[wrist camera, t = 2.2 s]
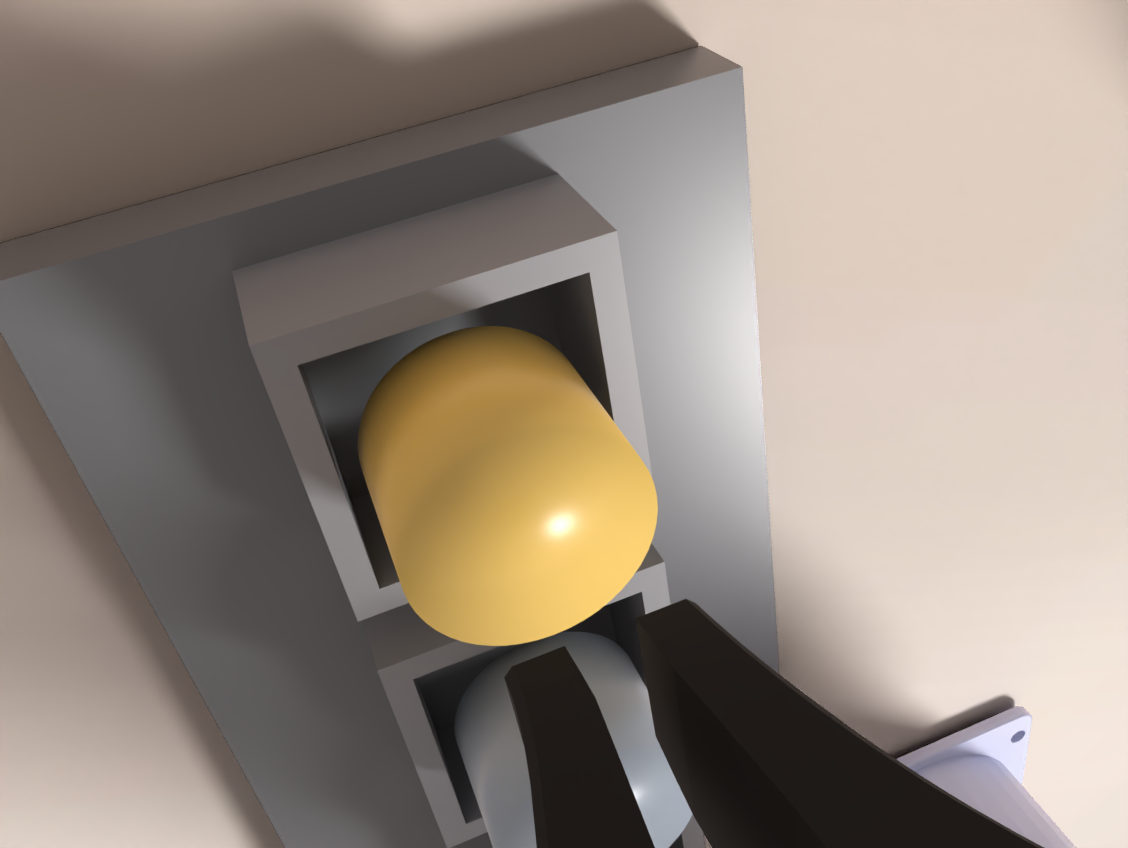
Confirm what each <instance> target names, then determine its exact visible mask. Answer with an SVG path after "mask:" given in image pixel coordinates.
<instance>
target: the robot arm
mask: <svg viewBox="0 0 1128 848" xmlns="http://www.w3.org/2000/svg"><path fill="white" fill-rule="evenodd" d="M635 620H636V626H637V631H638V637H639V643H640V649H641V655H642V660H643V666H644V672H645V678H646V684H647V689H648V695H649V701H650V707H651V712H652V718H653V724H654V730H655V736H656V738H657V740H658V742H659V744H660V747H661V749H662V751H663V753H664V755H665V757H666V759H667V762H668V764H669V766H670V768H671V770H672V772H673V774H674V776H675V779H676V781H677V783H678V785H679V787H680V789H681V791H682V793H683V795H684V797H685V799H686V801H687V803H688V805H689V808H690V810H691V812H692V814H693V816H694V818H695V820H696V821H697V823H698V825H699V826H700V828H701V830H702V831H703V833H704V834H705V836H706V838H707V839H708V841H709V843H710V844H711V846H712V848H1076V847H1075V846H1074V844H1073V843H1072V842H1071V841H1070V840H1069V839H1068V837H1067V836H1066V835H1065V834H1064V833H1063V832H1062V831H1061V829H1060V828H1059V827H1058V826H1057V825H1056V824H1055V823H1054V821H1053V820H1052V819H1051V818H1050V817H1049V816H1048V815H1047V813H1046V812H1045V811H1044V810H1043V809H1042V808H1041V806H1040V805H1039V804H1038V803H1037V802H1036V801H1035V800H1034V798H1033V797H1032V796H1031V795H1030V794H1029V793H1028V792H1027V790H1026V789H1025V788H1024V787H1023V786H1022V781H1023V774H1024V768H1025V761H1026V755H1027V749H1028V742H1029V736H1030V729H1031V723H1032V716H1031V715H1030V714H1029V713H1028V712H1027V710H1026V709H1025V708H1023V707H1014V708H1011V709H1009V710H1006V711H1004V712H1002V713H999V714H997V715H995V716H993V717H990V718H988V719H986V720H983V721H981V722H979V723H977V724H974V725H972V726H970V727H967V728H965V729H963V730H961V731H958V732H956V733H954V734H951V735H949V736H947V737H945V738H942V739H940V740H938V741H936V742H933V743H931V744H929V745H926V746H924V747H922V748H920V749H917V750H915V751H913V752H910V753H908V754H906V755H904V756H901V757H899V758H897V759H895V758H893V757H892V756H890V755H889V754H887V753H886V752H884V751H883V750H881V749H880V748H878V747H877V746H876V745H874V744H873V743H871V742H870V741H868V740H867V739H866V738H864V737H863V736H861V735H860V734H858V733H857V732H855V731H854V730H853V729H851V728H850V727H849V726H847V725H846V724H844V723H843V722H842V721H840V720H839V719H838V718H836V717H835V716H834V715H832V714H831V713H830V712H828V711H827V710H825V709H824V708H823V707H821V706H820V705H819V704H817V703H816V702H815V701H813V700H812V699H810V698H809V697H808V696H806V695H805V694H804V693H802V692H801V691H800V690H799V689H797V688H796V687H795V686H793V685H792V684H791V683H790V682H788V681H787V680H786V679H784V678H783V677H782V676H781V675H779V674H778V673H777V672H776V671H774V670H773V669H772V668H771V667H769V666H768V665H767V664H766V663H764V662H763V661H762V660H761V659H760V658H758V657H757V656H756V655H755V654H753V653H752V652H751V651H750V650H749V649H747V648H746V647H745V646H744V645H743V644H741V643H740V642H739V641H738V640H737V639H736V638H734V637H733V636H732V635H731V634H730V633H729V632H727V631H726V630H725V629H724V628H723V627H722V626H721V625H720V624H718V623H717V622H716V621H715V620H714V619H713V618H712V617H710V616H709V615H708V614H707V613H706V612H705V611H704V610H703V609H702V608H701V607H700V606H699V605H697V604H696V603H695V602H692V601H690V600H688V599H684V600H681V601H679V602H676V603H674V604H671V605H668V606H666V607H663V608H661V609H658V610H656V611H653V612H650V613H648V614H645V615H643V616H640V617H638V618H635ZM504 679H505V682H506V686H507V689H508V693H509V696H510V700H511V703H512V706H513V710H514V713H515V717H516V720H517V724H518V727H519V731H520V734H521V737H522V741H523V744H524V748H525V754H526V760H527V766H528V772H529V778H530V786H531V796H532V806H533V816H534V825H535V835H536V845H537V848H655V846H654V844H653V841H652V839H651V836H650V834H649V831H648V829H647V826H646V824H645V821H644V819H643V816H642V813H641V811H640V808H639V806H638V803H637V801H636V798H635V796H634V793H633V791H632V788H631V786H630V783H629V781H628V778H627V775H626V773H625V770H624V768H623V765H622V763H621V760H620V758H619V755H618V753H617V750H616V748H615V745H614V743H613V740H612V738H611V735H610V733H609V730H608V728H607V725H606V723H605V720H604V717H603V715H602V712H601V710H600V708H599V705H598V703H597V700H596V698H595V696H594V694H593V692H592V691H591V689H590V687H589V685H588V684H587V682H586V680H585V679H584V677H583V675H582V673H581V672H580V670H579V668H578V667H577V665H576V664H575V662H574V660H573V659H572V657H571V655H570V654H569V652H568V651H567V649H566V647H565V646H563V647H560V648H558V649H555V650H553V651H550V652H548V653H545V654H542V655H540V656H537V657H535V658H532V659H530V660H527V661H524V662H522V663H519V664H517V665H514V666H512V667H511V668H510V670H509V671H508V673H507V674H506V675H505V677H504Z"/></svg>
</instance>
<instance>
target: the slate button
mask: <svg viewBox="0 0 1128 848" xmlns="http://www.w3.org/2000/svg"><path fill="white" fill-rule="evenodd" d="M563 646H565V647H566V649H567V651H568V652H569V654H570V655H571V657H572V659H573V660H574V662H575V664H576V665H577V667H578V668H579V670H580V672H581V673H582V675H583V677H584V679H585V680H586V682H587V684H588V685H589V687H590V689H591V691H592V692H593V694H594V696H595V698H596V700H597V703H598V705H599V708H600V710H601V712H602V715H603V717H604V720H605V723H606V725H607V728H608V730H609V733H610V735H611V738H612V740H613V743H614V745H615V748H616V750H617V753H618V755H619V758H620V760H621V763H622V765H623V768H624V770H625V773H626V775H627V778H628V781H629V783H630V786H631V788H632V791H633V793H634V796H635V798H636V801H637V803H638V806H639V808H640V811H641V813H642V816H643V819H644V821H645V824H646V826H647V829H648V831H649V834H650V836H651V839H652V841H653V844H654V846H655V848H669V847H670V846H671V845H672V843H673V842H674V841H675V840H676V839H677V838H678V837H679V835H680V834H681V833H682V831H683V830H684V829H685V827H686V825H687V824H688V822H689V820H690V818H691V816H692V812H691V810H690V808H689V805H688V803H687V801H686V799H685V797H684V795H683V793H682V791H681V789H680V787H679V785H678V783H677V781H676V779H675V776H674V774H673V772H672V770H671V768H670V766H669V764H668V762H667V759H666V757H665V755H664V753H663V751H662V749H661V747H660V744H659V742H658V740H657V738H656V736H655V730H654V724H653V718H652V712H651V707H650V701H649V695H648V690H647V688H646V686H645V684H644V682H643V681H642V679H641V677H640V675H639V674H638V672H637V670H636V668H635V667H634V665H633V663H632V661H631V659H630V658H629V656H628V654H627V653H626V652H625V651H624V649H623V648H622V647H620V646H619V645H618V644H617V643H615V642H614V641H612V640H610V639H609V638H606V637H603V636H601V635H597V634H593V633H587V632H562V633H557V634H555V635H552V636H549V637H546V638H543V639H540V640H536V641H532V642H528V643H523V644H521V645H518V646H516V647H515V648H513V649H511V650H509V651H507V652H506V653H504V654H503V655H501V656H500V657H498V658H497V659H495V660H494V661H493V662H492V663H490V664H489V665H488V666H487V667H486V668H484V669H483V670H482V671H481V672H480V673H479V674H478V675H477V676H476V678H475V679H474V680H473V681H472V683H471V684H470V685H469V686H468V688H467V690H466V691H465V693H464V694H463V696H462V698H461V700H460V702H459V705H458V708H457V711H456V714H455V721H454V733H455V737H456V741H457V744H458V747H459V750H460V753H461V756H462V759H463V762H464V765H465V768H466V771H467V773H468V776H469V779H470V782H471V785H472V788H473V791H474V794H475V797H476V800H477V803H478V805H479V808H480V811H481V814H482V817H483V820H484V823H485V826H486V829H487V832H488V835H489V837H490V840H491V843H492V846H493V848H537V845H536V835H535V825H534V816H533V806H532V796H531V786H530V778H529V772H528V766H527V760H526V754H525V748H524V744H523V741H522V737H521V734H520V731H519V727H518V724H517V720H516V717H515V713H514V710H513V706H512V703H511V700H510V696H509V693H508V689H507V686H506V682H505V679H504V677H505V675H506V674H507V673H508V671H509V670H510V668H511V667H512V666H514V665H517V664H519V663H522V662H524V661H527V660H530V659H532V658H535V657H537V656H540V655H542V654H545V653H548V652H550V651H553V650H555V649H558V648H560V647H563Z"/></svg>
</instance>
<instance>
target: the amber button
mask: <svg viewBox="0 0 1128 848" xmlns="http://www.w3.org/2000/svg"><path fill="white" fill-rule="evenodd" d="M358 455H359V461H360V465H361V469H362V472H363V475H364V478H365V481H366V484H367V487H368V490H369V493H370V496H371V499H372V502H373V504H374V507H375V510H376V513H377V516H378V519H379V522H380V525H381V528H382V531H383V534H384V537H385V540H386V543H387V545H388V548H389V551H390V554H391V557H392V560H393V563H394V566H395V569H396V572H397V575H398V578H399V581H400V584H401V586H402V589H403V592H404V594H405V596H406V598H407V600H408V602H409V604H410V605H411V607H412V608H413V610H414V611H415V613H416V614H417V615H418V616H419V617H420V618H421V619H422V620H423V621H424V622H425V623H427V624H428V625H429V626H431V627H432V628H434V629H435V630H436V631H438V632H440V633H442V634H444V635H446V636H448V637H450V638H453V639H456V640H459V641H462V642H467V643H471V644H476V645H487V646H508V645H515V644H523V643H528V642H532V641H536V640H540V639H543V638H546V637H549V636H552V635H555V634H557V633H560V632H562V631H564V630H567V629H569V628H571V627H573V626H575V625H576V624H578V623H580V622H582V621H584V620H585V619H587V618H588V617H590V616H591V615H593V614H594V613H596V612H597V611H599V610H600V609H601V608H602V607H603V606H605V605H606V604H607V603H608V602H610V601H611V600H612V599H613V598H614V597H615V596H616V595H617V594H618V593H619V592H620V591H621V590H622V589H623V588H624V587H625V585H626V584H627V583H628V582H629V581H630V579H631V578H632V577H633V576H634V574H635V573H636V571H637V570H638V568H639V567H640V565H641V564H642V562H643V560H644V558H645V556H646V554H647V552H648V550H649V547H650V545H651V542H652V539H653V536H654V532H655V528H656V524H657V513H658V504H657V494H656V489H655V485H654V482H653V479H652V477H651V475H650V472H649V470H648V469H647V467H646V466H645V464H644V462H643V461H642V459H641V458H640V457H639V455H638V454H637V453H636V451H635V450H634V448H633V447H632V446H631V444H630V443H629V442H628V440H627V439H626V438H625V436H624V435H623V434H622V432H621V431H620V429H619V428H618V427H617V425H616V424H615V423H614V421H613V420H612V419H611V417H610V416H609V414H608V413H607V412H606V410H605V409H604V408H603V406H602V405H601V404H600V402H599V401H598V400H597V398H596V397H595V395H594V394H593V393H592V391H591V390H590V389H589V387H588V386H587V385H586V383H585V382H584V380H583V379H582V378H581V376H580V375H579V374H578V372H577V371H576V370H575V368H574V367H573V366H572V364H571V363H570V361H569V360H568V359H567V358H566V357H565V356H564V355H563V354H562V352H561V351H559V350H558V349H557V348H556V347H554V346H553V345H552V344H551V343H549V342H547V341H546V340H544V339H542V338H541V337H539V336H536V335H534V334H531V333H529V332H526V331H523V330H519V329H515V328H510V327H501V326H479V327H471V328H465V329H461V330H457V331H453V332H449V333H447V334H444V335H442V336H439V337H436V338H434V339H432V340H430V341H428V342H426V343H424V344H422V345H420V346H419V347H417V348H416V349H414V350H413V351H411V352H410V353H408V354H407V355H406V356H404V357H403V358H402V359H401V360H400V361H399V362H397V363H396V364H395V365H394V366H393V367H392V368H391V369H390V370H389V371H388V372H387V374H386V375H385V376H384V377H383V378H382V379H381V381H380V382H379V384H378V385H377V386H376V388H375V389H374V391H373V393H372V394H371V396H370V398H369V400H368V402H367V404H366V406H365V409H364V412H363V415H362V417H361V422H360V426H359V431H358Z"/></svg>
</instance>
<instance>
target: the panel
mask: <svg viewBox="0 0 1128 848" xmlns="http://www.w3.org/2000/svg"><path fill="white" fill-rule="evenodd" d="M479 326H501V327H510V328H515V329H519V330H523V331H526V332H529V333H531V334H534V335H536V336H539V337H541V338H542V339H544V340H546V341H547V342H549V343H551V344H552V345H553V346H554V347H556V348H557V349H558V350H559V351H561V352H562V354H563V355H564V356H565V357H566V358H567V359H568V360H569V361H570V363H571V364H572V366H573V367H574V368H575V370H576V371H577V372H578V374H579V375H580V376H581V378H582V379H583V380H584V382H585V383H586V385H587V386H588V387H589V389H590V390H591V391H592V393H593V394H594V395H595V397H596V398H597V400H598V401H599V402H600V404H601V405H602V406H603V408H604V409H605V410H606V412H607V413H608V414H609V416H610V417H611V419H612V420H613V421H614V423H615V424H616V425H617V427H618V428H619V429H620V431H621V432H622V434H623V435H624V436H625V438H626V439H627V440H628V442H629V443H630V444H631V446H632V447H633V448H634V450H635V451H636V453H637V454H638V455H639V457H640V458H641V459H642V461H643V462H644V464H645V466H646V467H647V469H648V470H649V472H650V475H651V477H652V479H653V482H654V485H655V489H656V494H657V504H658V513H657V524H656V528H655V532H654V536H653V539H652V542H651V545H650V547H649V550H648V552H647V554H646V556H645V558H644V560H643V562H642V564H641V565H640V567H639V568H638V570H637V571H636V573H635V574H634V576H633V577H632V578H631V579H630V581H629V582H628V583H627V584H626V585H625V587H624V588H623V589H622V590H621V591H620V592H619V593H618V594H617V595H616V596H615V597H614V598H613V599H612V600H611V601H610V602H608V603H607V604H606V605H605V606H603V607H602V608H601V609H600V610H599V611H597V612H596V613H594V614H593V615H591V616H590V617H588V618H587V619H585V620H584V621H582V622H580V623H578V624H576V625H575V626H573V627H571V628H569V629H567V630H564V631H562V632H587V633H593V634H597V635H601V636H603V637H606V638H609V639H610V640H612V641H614V642H615V643H617V644H618V645H619V646H620V647H622V648H623V649H624V651H625V652H626V653H627V654H628V656H629V658H630V659H631V661H632V663H633V665H634V667H635V668H636V670H637V672H638V674H639V675H640V677H641V679H642V681H643V682H644V684H645V686H646V688H647V684H646V678H645V672H644V666H643V660H642V655H641V649H640V643H639V637H638V631H637V626H636V620H635V618H638V617H640V616H643V615H645V614H648V613H650V612H653V611H656V610H658V609H661V608H663V607H666V606H668V605H671V604H674V603H676V602H679V601H681V600H684V599H688V600H690V601H692V602H695V603H696V604H697V605H699V606H700V607H701V608H702V609H703V610H704V611H705V612H706V613H707V614H708V615H709V616H710V617H712V618H713V619H714V620H715V621H716V622H717V623H718V624H720V625H721V626H722V627H723V628H724V629H725V630H726V631H727V632H729V633H730V634H731V635H732V636H733V637H734V638H736V639H737V640H738V641H739V642H740V643H741V644H743V645H744V646H745V647H746V648H747V649H749V650H750V651H751V652H752V653H753V654H755V655H756V656H757V657H758V658H760V659H761V660H762V661H763V662H764V663H766V664H767V665H768V666H769V667H771V668H772V669H773V670H774V671H776V672H777V673H778V674H779V661H778V645H777V628H776V612H775V595H774V579H773V563H772V546H771V530H770V513H769V497H768V480H767V464H766V447H765V431H764V414H763V398H762V382H761V365H760V349H759V332H758V316H757V299H756V283H755V266H754V250H753V234H752V217H751V201H750V184H749V168H748V151H747V135H746V118H745V102H744V86H743V69H742V66H740V65H738V64H736V63H734V62H732V61H730V60H728V59H726V58H724V57H722V56H720V55H718V54H716V53H715V52H713V51H711V50H709V49H707V48H705V47H703V46H699V47H695V48H692V49H688V50H685V51H681V52H678V53H674V54H670V55H667V56H663V57H660V58H656V59H653V60H649V61H646V62H642V63H639V64H635V65H631V66H628V67H624V68H621V69H617V70H614V71H610V72H607V73H603V74H599V75H596V76H592V77H589V78H585V79H582V80H578V81H575V82H571V83H568V84H564V85H560V86H557V87H553V88H550V89H546V90H543V91H539V92H536V93H532V94H528V95H525V96H521V97H518V98H514V99H511V100H507V101H504V102H500V103H497V104H493V105H489V106H486V107H482V108H479V109H475V110H472V111H468V112H465V113H461V114H457V115H454V116H450V117H447V118H443V119H440V120H436V121H433V122H429V123H426V124H422V125H418V126H415V127H411V128H408V129H404V130H401V131H397V132H394V133H390V134H387V135H383V136H379V137H376V138H372V139H369V140H365V141H362V142H358V143H355V144H351V145H347V146H344V147H340V148H337V149H333V150H330V151H326V152H323V153H319V154H316V155H312V156H308V157H305V158H301V159H298V160H294V161H291V162H287V163H284V164H280V165H276V166H273V167H269V168H266V169H262V170H259V171H255V172H252V173H248V174H245V175H241V176H237V177H234V178H230V179H227V180H223V181H220V182H216V183H213V184H209V185H205V186H202V187H198V188H195V189H191V190H188V191H184V192H181V193H177V194H174V195H170V196H166V197H163V198H159V199H156V200H152V201H149V202H145V203H142V204H138V205H135V206H131V207H127V208H124V209H120V210H117V211H113V212H110V213H106V214H103V215H99V216H95V217H92V218H88V219H85V220H81V221H78V222H74V223H71V224H67V225H64V226H60V227H56V228H53V229H49V230H46V231H42V232H39V233H35V234H32V235H28V236H24V237H21V238H17V239H14V240H10V241H7V242H3V243H0V333H1V334H2V336H3V338H4V340H5V342H6V343H7V345H8V347H9V349H10V351H11V352H12V354H13V356H14V358H15V360H16V361H17V363H18V365H19V367H20V369H21V371H22V372H23V374H24V376H25V378H26V380H27V381H28V383H29V385H30V387H31V389H32V390H33V392H34V394H35V396H36V398H37V400H38V401H39V403H40V405H41V407H42V409H43V410H44V412H45V414H46V416H47V418H48V419H49V421H50V423H51V425H52V427H53V428H54V430H55V432H56V434H57V436H58V438H59V439H60V441H61V443H62V445H63V447H64V448H65V450H66V452H67V454H68V456H69V457H70V459H71V461H72V463H73V465H74V466H75V468H76V470H77V472H78V474H79V476H80V477H81V479H82V481H83V483H84V485H85V486H86V488H87V490H88V492H89V494H90V495H91V497H92V499H93V501H94V503H95V505H96V506H97V508H98V510H99V512H100V514H101V515H102V517H103V519H104V521H105V523H106V524H107V526H108V528H109V530H110V532H111V533H112V535H113V537H114V539H115V541H116V543H117V544H118V546H119V548H120V550H121V552H122V553H123V555H124V557H125V559H126V561H127V562H128V564H129V566H130V568H131V570H132V572H133V573H134V575H135V577H136V579H137V581H138V582H139V584H140V586H141V588H142V590H143V591H144V593H145V595H146V597H147V599H148V600H149V602H150V604H151V606H152V608H153V610H154V611H155V613H156V615H157V617H158V619H159V620H160V622H161V624H162V626H163V628H164V629H165V631H166V633H167V635H168V637H169V638H170V640H171V642H172V644H173V646H174V648H175V649H176V651H177V653H178V655H179V657H180V658H181V660H182V662H183V664H184V666H185V667H186V669H187V671H188V673H189V675H190V677H191V678H192V680H193V682H194V684H195V686H196V687H197V689H198V691H199V693H200V695H201V696H202V698H203V700H204V702H205V704H206V705H207V707H208V709H209V711H210V713H211V715H212V716H213V718H214V720H215V722H216V724H217V725H218V727H219V729H220V731H221V733H222V734H223V736H224V738H225V740H226V742H227V743H228V745H229V747H230V749H231V751H232V753H233V754H234V756H235V758H236V760H237V762H238V763H239V765H240V767H241V769H242V771H243V772H244V774H245V776H246V778H247V780H248V782H249V783H250V785H251V787H252V789H253V791H254V792H255V794H256V796H257V798H258V800H259V801H260V803H261V805H262V807H263V809H264V810H265V812H266V814H267V816H268V818H269V820H270V821H271V823H272V825H273V827H274V829H275V830H276V832H277V834H278V836H279V838H280V839H281V841H282V843H283V845H284V847H285V848H493V846H492V843H491V840H490V837H489V835H488V832H487V829H486V826H485V823H484V820H483V817H482V814H481V811H480V808H479V805H478V803H477V800H476V797H475V794H474V791H473V788H472V785H471V782H470V779H469V776H468V773H467V771H466V768H465V765H464V762H463V759H462V756H461V753H460V750H459V747H458V744H457V741H456V737H455V733H454V721H455V714H456V711H457V708H458V705H459V702H460V700H461V698H462V696H463V694H464V693H465V691H466V690H467V688H468V686H469V685H470V684H471V683H472V681H473V680H474V679H475V678H476V676H477V675H478V674H479V673H480V672H481V671H482V670H483V669H484V668H486V667H487V666H488V665H489V664H490V663H492V662H493V661H494V660H495V659H497V658H498V657H500V656H501V655H503V654H504V653H506V652H507V651H509V650H511V649H513V648H515V647H516V646H518V645H521V644H515V645H508V646H487V645H476V644H471V643H467V642H462V641H459V640H456V639H453V638H450V637H448V636H446V635H444V634H442V633H440V632H438V631H436V630H435V629H434V628H432V627H431V626H429V625H428V624H427V623H425V622H424V621H423V620H422V619H421V618H420V617H419V616H418V615H417V614H416V613H415V611H414V610H413V608H412V607H411V605H410V604H409V602H408V600H407V598H406V596H405V594H404V592H403V589H402V586H401V584H400V581H399V578H398V575H397V572H396V569H395V566H394V563H393V560H392V557H391V554H390V551H389V548H388V545H387V543H386V540H385V537H384V534H383V531H382V528H381V525H380V522H379V519H378V516H377V513H376V510H375V507H374V504H373V502H372V499H371V496H370V493H369V490H368V487H367V484H366V481H365V478H364V475H363V472H362V469H361V465H360V461H359V455H358V431H359V426H360V422H361V417H362V415H363V412H364V409H365V406H366V404H367V402H368V400H369V398H370V396H371V394H372V393H373V391H374V389H375V388H376V386H377V385H378V384H379V382H380V381H381V379H382V378H383V377H384V376H385V375H386V374H387V372H388V371H389V370H390V369H391V368H392V367H393V366H394V365H395V364H396V363H397V362H399V361H400V360H401V359H402V358H403V357H404V356H406V355H407V354H408V353H410V352H411V351H413V350H414V349H416V348H417V347H419V346H420V345H422V344H424V343H426V342H428V341H430V340H432V339H434V338H436V337H439V336H442V335H444V334H447V333H449V332H453V331H457V330H461V329H465V328H471V327H479ZM562 632H560V633H562ZM647 690H648V689H647ZM704 835H705V834H704V833H703V831H702V830H701V828H700V826H699V825H698V823H697V821H696V820H695V818H694V816H693V814H692V816H691V818H690V820H689V822H688V824H687V825H686V827H685V829H684V830H683V831H682V833H681V834H680V835H679V837H678V838H677V839H676V840H675V841H674V842H673V843H672V845H671V846H670V847H669V848H705V842H704Z"/></svg>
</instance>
